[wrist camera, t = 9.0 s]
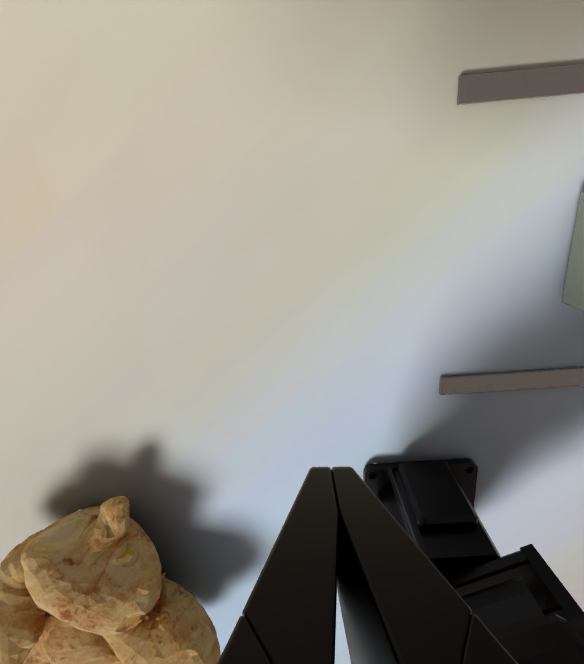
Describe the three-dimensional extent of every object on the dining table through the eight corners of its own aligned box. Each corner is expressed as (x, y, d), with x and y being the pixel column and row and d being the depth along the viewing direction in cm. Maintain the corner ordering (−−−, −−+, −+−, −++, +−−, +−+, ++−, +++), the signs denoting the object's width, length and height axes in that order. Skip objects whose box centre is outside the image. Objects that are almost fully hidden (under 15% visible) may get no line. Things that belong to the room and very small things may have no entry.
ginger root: (213, 472, 21) (172, 655, 14) (247, 594, 30) (231, 742, 23) (-53, 474, 22) (-208, 649, 15) (57, 592, 31) (-10, 735, 24)
